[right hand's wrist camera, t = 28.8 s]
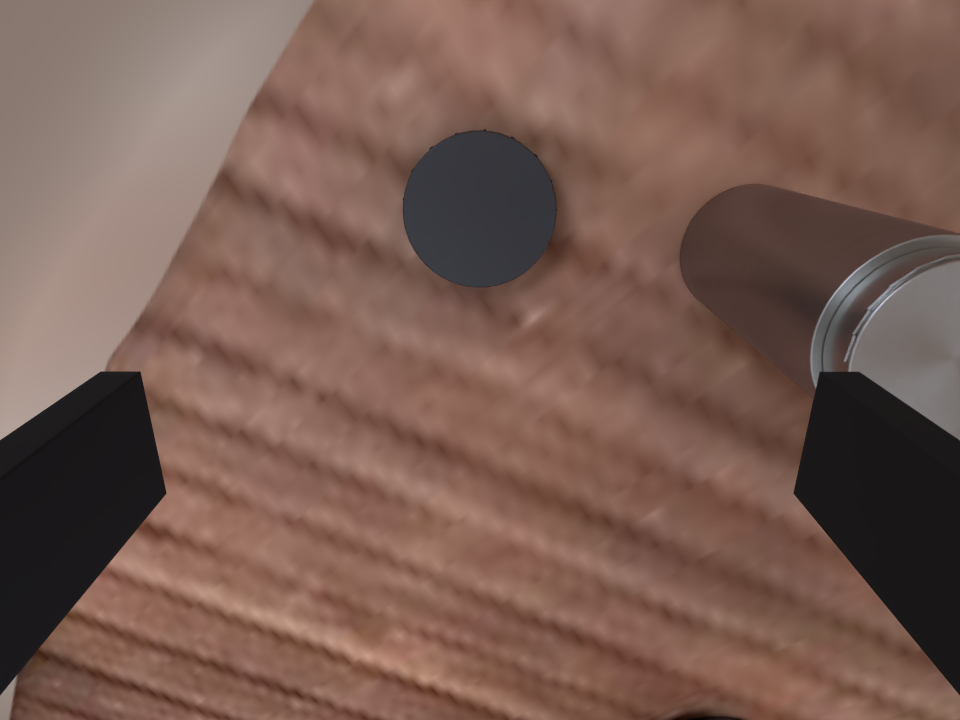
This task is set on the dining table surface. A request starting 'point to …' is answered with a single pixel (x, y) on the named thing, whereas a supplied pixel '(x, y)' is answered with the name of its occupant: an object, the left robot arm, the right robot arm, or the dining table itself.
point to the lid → (479, 208)
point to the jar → (834, 291)
